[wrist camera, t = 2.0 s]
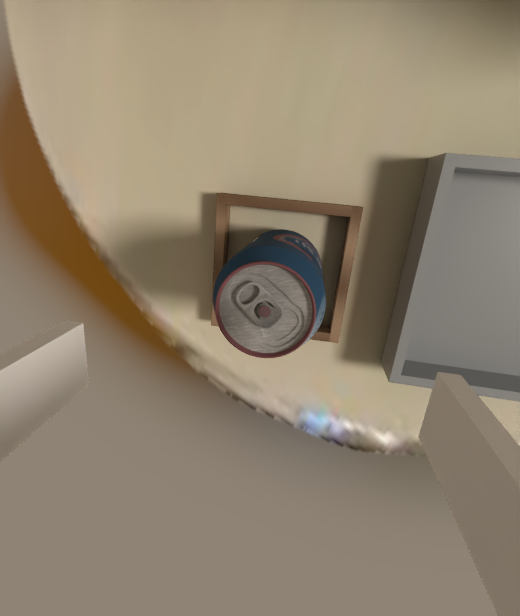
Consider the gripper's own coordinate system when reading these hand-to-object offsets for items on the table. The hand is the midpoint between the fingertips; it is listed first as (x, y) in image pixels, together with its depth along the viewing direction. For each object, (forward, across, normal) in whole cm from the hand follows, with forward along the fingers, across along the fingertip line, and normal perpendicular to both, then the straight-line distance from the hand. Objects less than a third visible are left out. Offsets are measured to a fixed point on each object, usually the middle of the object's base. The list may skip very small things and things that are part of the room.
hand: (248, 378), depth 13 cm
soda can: (+19, 0, 0) cm, 19 cm away
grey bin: (+19, +19, +1) cm, 27 cm away
